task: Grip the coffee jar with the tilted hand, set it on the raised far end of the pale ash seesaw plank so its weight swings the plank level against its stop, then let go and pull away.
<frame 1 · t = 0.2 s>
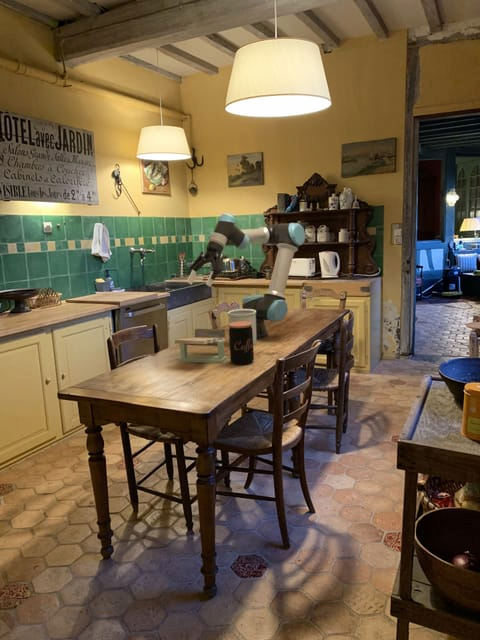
hand: (198, 284, 227), 36 cm above the table, tool tilted 35°, fingers open, 13 cm apart
utensil holder: (243, 344, 260), on the table
seesaw plank: (201, 337, 231), point 11 cm above the table, hinge at -10.0°
coffee jar: (242, 362, 226), on the table
seesaw stand: (202, 359, 233), on the table
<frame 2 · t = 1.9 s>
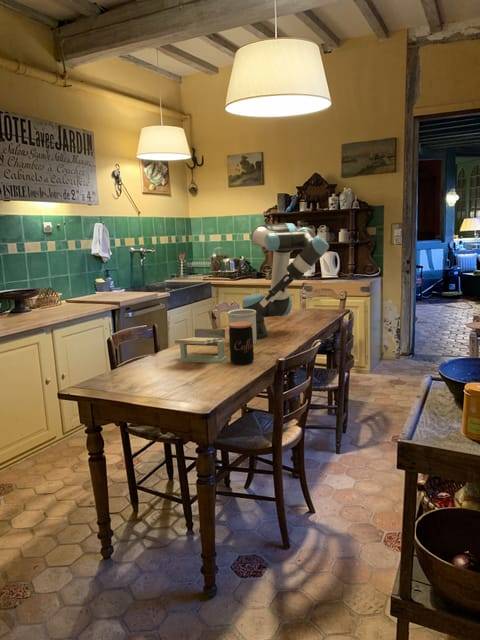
hand: (265, 302, 217), 28 cm above the table, tool tilted 45°, fingers open, 13 cm apart
nothing on the table moved.
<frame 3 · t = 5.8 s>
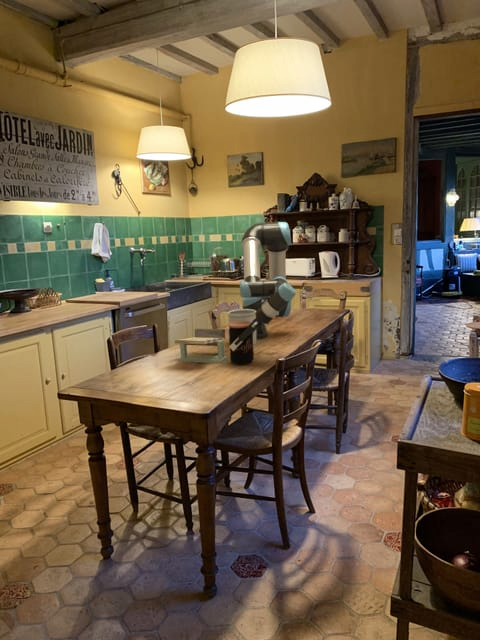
hand: (235, 345, 226), 8 cm above the table, tool tilted 45°, fingers closed on coffee jar, 11 cm apart
coffee jar: (242, 362, 226), on the table, touching gripper
everything else where it was.
when the fingers open (21 cm above the table, at t = 10.9 s): coffee jar drops 2 cm, resting on seesaw plank.
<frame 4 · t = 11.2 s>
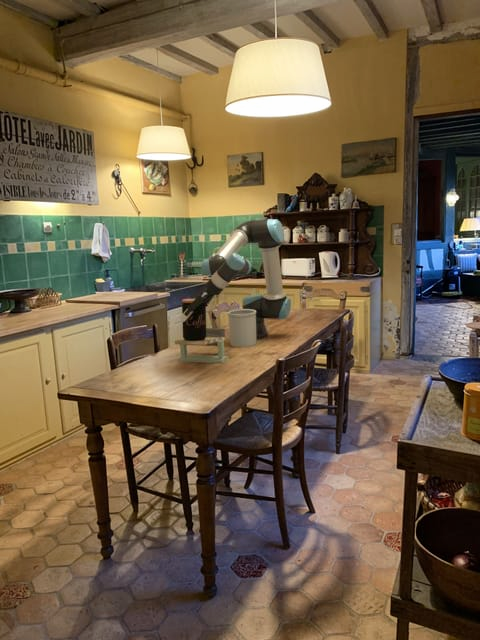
hand: (188, 317, 223), 22 cm above the table, tool tilted 45°, fingers open, 13 cm apart
seesaw plank: (201, 337, 231), point 11 cm above the table, hinge at -8.6°, touching coffee jar
coffee jar: (194, 339, 224), point 12 cm above the table, touching seesaw plank
everything else where it was.
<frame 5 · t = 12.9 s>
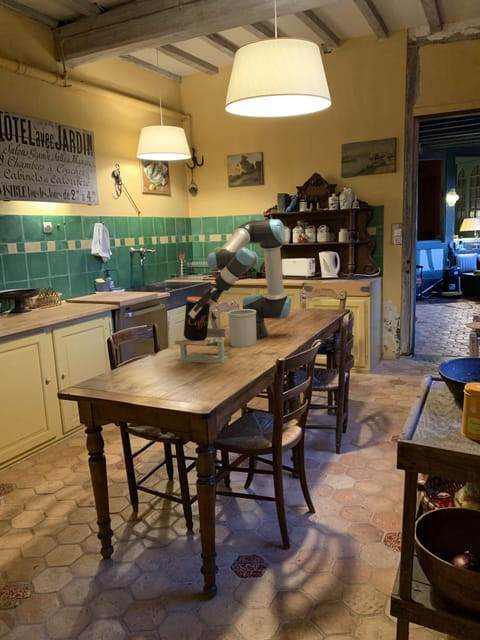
hand: (197, 312, 220), 24 cm above the table, tool tilted 45°, fingers open, 13 cm apart
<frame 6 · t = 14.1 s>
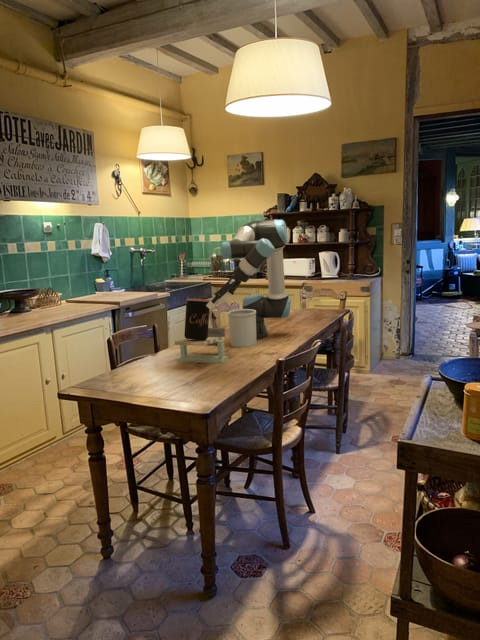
hand: (214, 305, 217), 28 cm above the table, tool tilted 45°, fingers open, 13 cm apart
seesaw plank: (201, 337, 231), point 11 cm above the table, hinge at -7.4°, touching coffee jar
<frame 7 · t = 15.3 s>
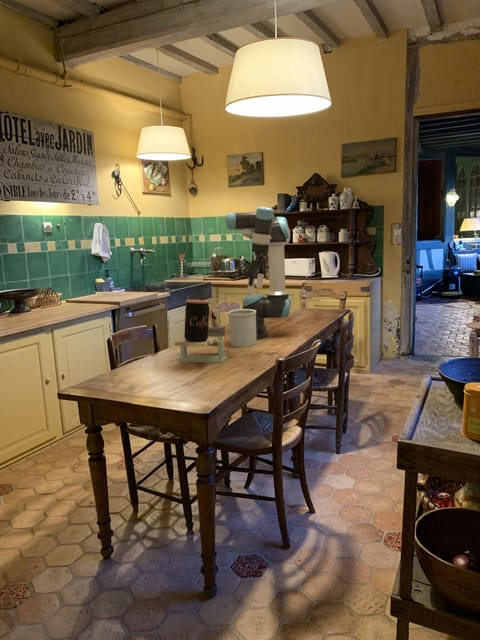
hand: (254, 290, 223), 32 cm above the table, tool pointing down, fingers open, 13 cm apart
seesaw plank: (201, 337, 231), point 11 cm above the table, hinge at -5.6°, touching coffee jar
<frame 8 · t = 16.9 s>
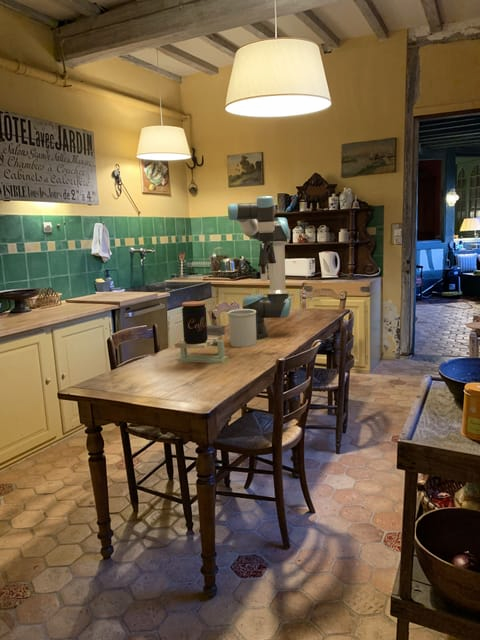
hand: (268, 279, 225), 37 cm above the table, tool pointing down, fingers open, 13 cm apart
seesaw plank: (200, 338, 231), point 11 cm above the table, hinge at -2.3°, touching coffee jar
at the end: seesaw plank at -2° (first picture: -10°); coffee jar inside the target area on the seesaw plank (0.8 cm from its centre), point 2.4 cm above the seesaw plank's base; coffee jar tilted 2° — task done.
